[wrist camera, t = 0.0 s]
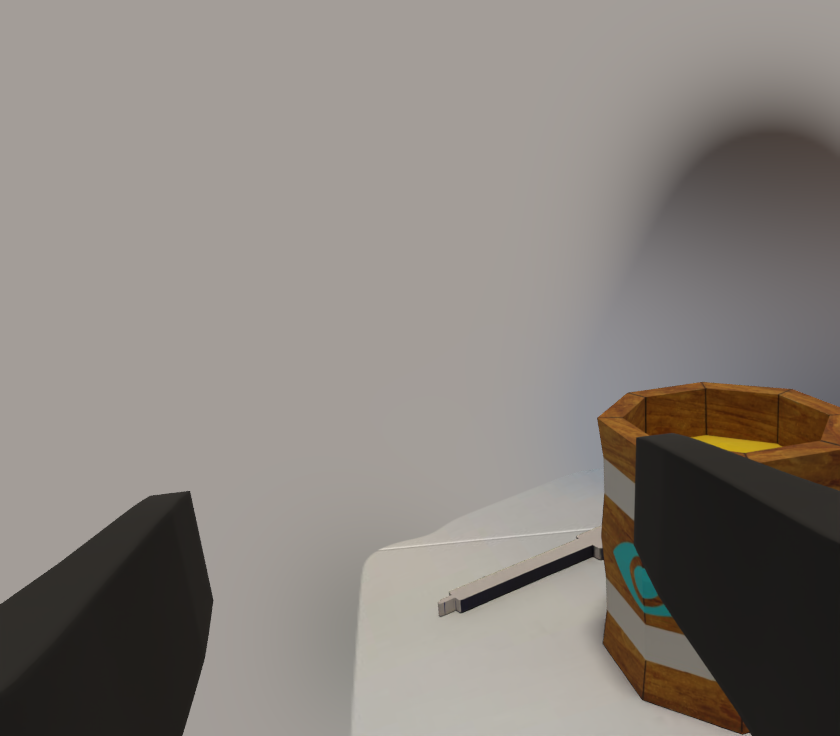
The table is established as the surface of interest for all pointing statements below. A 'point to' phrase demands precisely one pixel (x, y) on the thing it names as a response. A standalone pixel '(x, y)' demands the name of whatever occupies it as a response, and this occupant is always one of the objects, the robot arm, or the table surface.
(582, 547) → the caliper
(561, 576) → the table surface
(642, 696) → the mug
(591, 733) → the table surface
